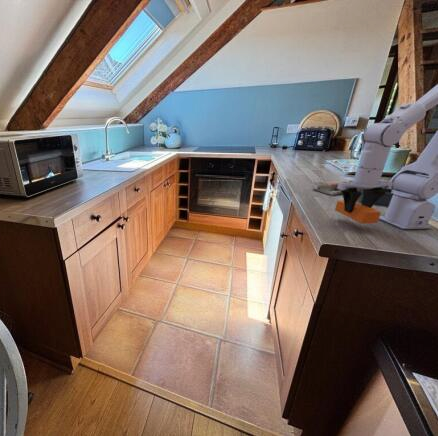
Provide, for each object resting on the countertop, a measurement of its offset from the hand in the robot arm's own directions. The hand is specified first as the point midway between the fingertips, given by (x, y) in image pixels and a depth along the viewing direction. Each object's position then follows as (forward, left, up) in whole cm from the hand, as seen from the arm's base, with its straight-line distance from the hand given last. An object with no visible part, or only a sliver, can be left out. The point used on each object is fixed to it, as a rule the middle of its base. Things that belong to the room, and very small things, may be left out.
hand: (356, 211), depth 75 cm
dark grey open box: (+24, -29, -5) cm, 38 cm away
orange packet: (0, 0, -2) cm, 2 cm away
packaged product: (+38, -23, -5) cm, 45 cm away
